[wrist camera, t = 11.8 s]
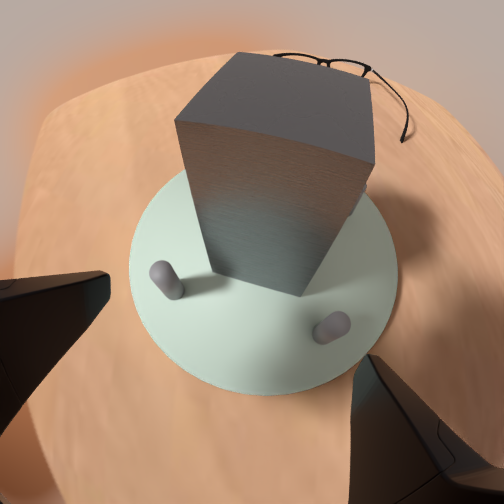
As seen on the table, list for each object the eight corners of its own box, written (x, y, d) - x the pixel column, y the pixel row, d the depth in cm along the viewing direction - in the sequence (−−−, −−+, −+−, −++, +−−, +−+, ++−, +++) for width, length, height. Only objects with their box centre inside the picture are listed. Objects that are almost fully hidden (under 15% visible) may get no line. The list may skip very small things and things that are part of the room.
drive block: (300, 297, 17) (375, 164, 7) (212, 272, 18) (174, 120, 7) (317, 220, 20) (368, 78, 9) (240, 200, 21) (238, 50, 10)
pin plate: (366, 418, 15) (398, 425, 11) (96, 334, 17) (62, 319, 13) (392, 191, 23) (411, 161, 19) (195, 141, 26) (190, 106, 22)
